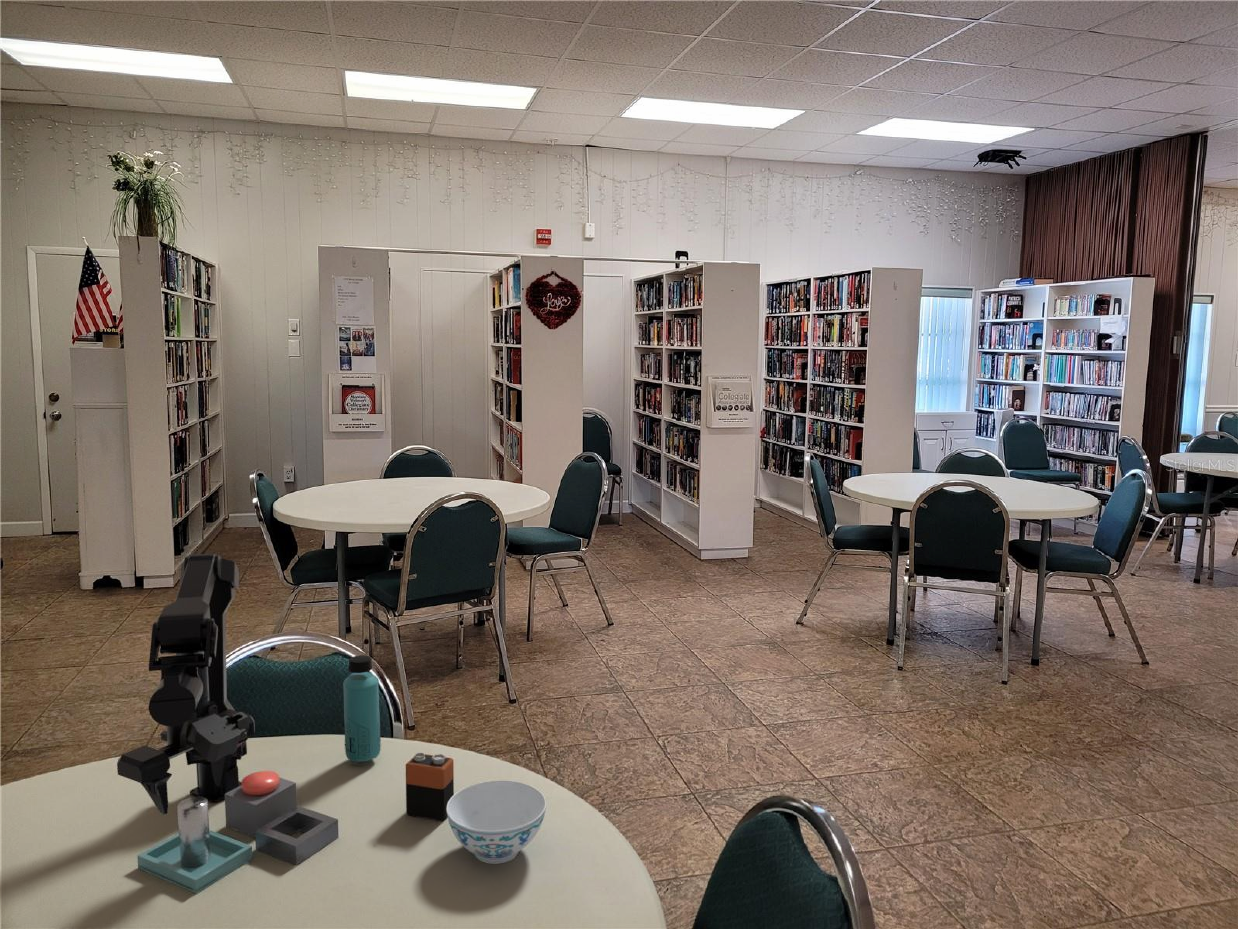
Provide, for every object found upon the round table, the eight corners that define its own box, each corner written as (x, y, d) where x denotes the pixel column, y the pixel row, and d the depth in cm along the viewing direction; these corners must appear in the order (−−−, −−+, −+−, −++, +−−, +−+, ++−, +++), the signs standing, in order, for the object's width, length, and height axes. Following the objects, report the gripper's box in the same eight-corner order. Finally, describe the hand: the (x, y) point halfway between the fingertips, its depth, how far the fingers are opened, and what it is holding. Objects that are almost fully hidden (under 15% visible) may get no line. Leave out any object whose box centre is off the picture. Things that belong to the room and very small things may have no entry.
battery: (443, 822, 145) (442, 764, 143) (405, 816, 146) (404, 758, 145) (454, 809, 149) (454, 752, 147) (417, 803, 151) (417, 746, 149)
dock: (226, 826, 142) (224, 794, 142) (266, 803, 149) (265, 772, 149) (257, 838, 139) (255, 805, 138) (297, 814, 146) (296, 782, 145)
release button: (234, 805, 143) (233, 782, 142) (262, 789, 148) (262, 768, 147) (259, 814, 140) (258, 791, 140) (287, 798, 145) (286, 776, 144)
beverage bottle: (388, 757, 167) (386, 653, 164) (367, 773, 160) (365, 666, 158) (358, 751, 169) (356, 649, 166) (336, 766, 163) (333, 661, 160)
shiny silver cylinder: (174, 863, 131) (171, 806, 130) (198, 849, 135) (194, 794, 134) (193, 871, 130) (190, 813, 128) (216, 857, 133) (213, 800, 132)
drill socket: (255, 849, 136) (255, 831, 136) (298, 823, 144) (298, 805, 143) (296, 865, 132) (295, 846, 132) (338, 837, 140) (338, 819, 139)
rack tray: (138, 868, 131) (137, 855, 131) (195, 836, 139) (194, 824, 139) (196, 893, 125) (195, 880, 125) (252, 858, 134) (252, 846, 133)
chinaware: (520, 890, 128) (521, 839, 126) (428, 868, 132) (427, 819, 131) (560, 835, 142) (561, 789, 141) (475, 817, 146) (475, 773, 145)
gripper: (165, 734, 117) (171, 845, 119) (278, 686, 133) (282, 785, 135) (111, 716, 122) (118, 823, 124) (227, 672, 138) (231, 768, 140)
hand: (192, 799), depth 131 cm, fingers open, 9 cm apart
